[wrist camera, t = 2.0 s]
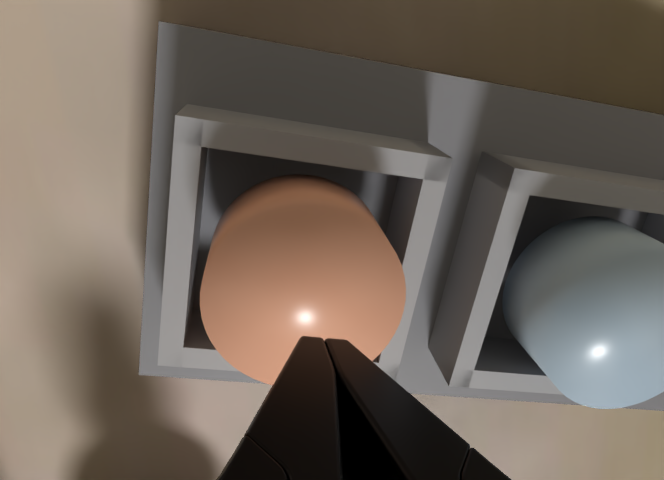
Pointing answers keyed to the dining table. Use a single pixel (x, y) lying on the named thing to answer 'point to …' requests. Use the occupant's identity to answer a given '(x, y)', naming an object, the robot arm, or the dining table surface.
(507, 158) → the button panel
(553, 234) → the slate button
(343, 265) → the terracotta button
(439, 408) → the dining table surface
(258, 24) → the dining table surface
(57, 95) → the dining table surface
